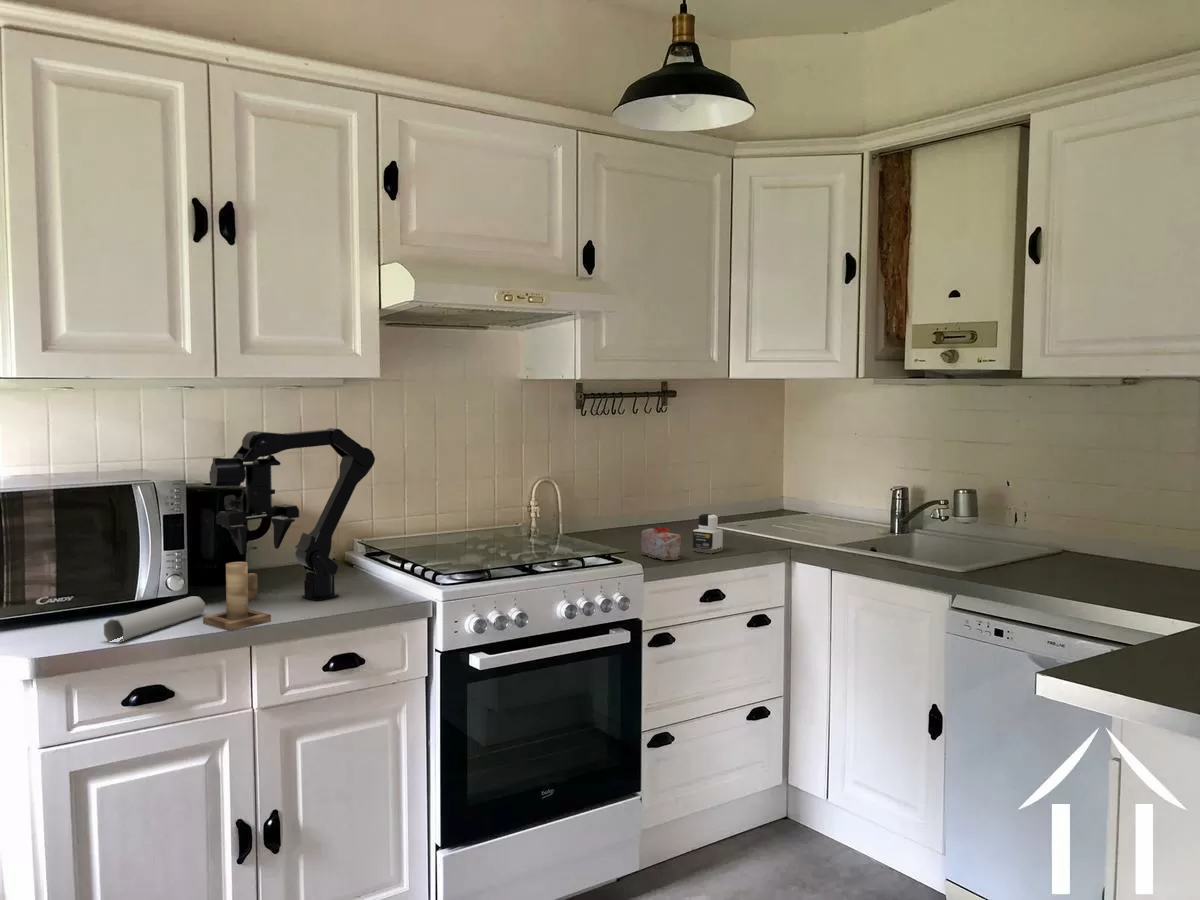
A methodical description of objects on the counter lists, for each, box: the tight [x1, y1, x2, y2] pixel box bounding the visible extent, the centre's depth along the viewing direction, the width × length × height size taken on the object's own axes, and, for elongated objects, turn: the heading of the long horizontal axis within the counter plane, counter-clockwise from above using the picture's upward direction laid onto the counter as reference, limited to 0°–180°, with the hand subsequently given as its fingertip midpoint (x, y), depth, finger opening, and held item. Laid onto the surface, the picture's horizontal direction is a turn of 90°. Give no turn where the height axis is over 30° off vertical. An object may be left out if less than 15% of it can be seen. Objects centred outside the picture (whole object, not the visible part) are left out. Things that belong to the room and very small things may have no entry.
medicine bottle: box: [692, 513, 724, 550], centre depth 293 cm, size 7×7×12 cm
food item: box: [640, 525, 682, 559], centre depth 282 cm, size 14×8×10 cm, turn 35°
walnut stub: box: [248, 572, 259, 602], centre depth 223 cm, size 4×4×6 cm
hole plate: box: [202, 608, 272, 632], centre depth 202 cm, size 10×10×2 cm
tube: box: [103, 595, 206, 643], centre depth 197 cm, size 5×5×25 cm
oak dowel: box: [225, 561, 249, 621], centre depth 202 cm, size 4×4×13 cm
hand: (259, 551), depth 216 cm, fingers open, 9 cm apart
